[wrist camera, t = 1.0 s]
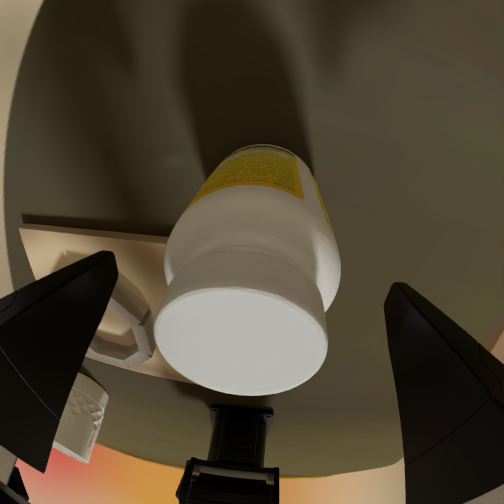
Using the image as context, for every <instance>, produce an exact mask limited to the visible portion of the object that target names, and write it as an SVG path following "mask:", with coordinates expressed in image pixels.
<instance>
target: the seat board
mask: <svg viewBox="0 0 504 504" xmlns="http://www.w3.org/2000/svg"><path fill="white" fill-rule="evenodd" d="M19 231H20V234H21V238H22V241H23V244H24V247H25V250H26V253H27V256H28V259H29V262H30V265H31V268H32V270H33V273H34V276H35V278H36V280H39V279H41V278H43V277H45V276H47V275H49V274H51V273H53V272H55V271H57V270H59V269H61V268H64V267H66V266H68V265H70V264H72V263H74V262H76V261H79V260H81V259H83V258H85V257H88V256H90V255H92V254H94V253H97V252H99V251H101V250H107V251H112V252H113V253H114V254H115V258H116V263H117V268H118V273H119V275H118V280H117V283H116V285H115V288H114V290H113V293H112V295H111V298H110V301H109V303H108V306H107V309H106V311H105V314H104V316H103V318H102V321H101V323H100V325H99V327H98V329H97V331H96V333H95V335H94V338H93V340H92V342H91V344H90V346H89V349H88V351H87V353H86V355H85V356H86V357H89V358H92V359H95V360H98V361H101V362H104V363H108V364H111V365H115V366H118V367H122V368H125V369H129V370H133V371H137V372H141V373H145V374H149V375H153V376H158V377H162V378H167V379H171V380H176V381H181V382H187V383H192V384H197V383H195V382H193V381H192V380H190V379H188V378H186V377H185V376H184V375H182V374H181V373H179V372H178V371H177V370H175V369H174V368H173V367H172V366H171V365H170V364H169V363H168V362H167V361H166V359H165V358H164V357H163V355H162V354H161V352H160V350H159V349H158V346H157V344H156V341H155V338H154V322H155V317H156V314H157V311H158V309H159V307H160V305H161V303H162V301H163V298H164V296H165V294H166V291H167V288H168V284H167V281H166V276H165V269H164V257H165V250H166V245H167V242H168V239H169V237H163V236H153V235H143V234H133V233H123V232H113V231H102V230H92V229H82V228H71V227H60V226H50V225H39V224H28V223H25V224H23V225H22V226H21V227H20V228H19Z"/></svg>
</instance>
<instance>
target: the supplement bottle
mask: <svg viewBox="0 0 504 504" xmlns="http://www.w3.org/2000/svg"><path fill="white" fill-rule="evenodd" d="M164 269H165V276H166V281H167V284H168V288H167V291H166V294H165V296H164V298H163V301H162V303H161V305H160V307H159V309H158V311H157V314H156V317H155V322H154V338H155V341H156V344H157V346H158V349H159V350H160V352H161V354H162V355H163V357H164V358H165V359H166V361H167V362H168V363H169V364H170V365H171V366H172V367H173V368H174V369H175V370H177V371H178V372H179V373H181V374H182V375H184V376H185V377H186V378H188V379H190V380H192V381H193V382H195V383H197V384H199V385H202V386H204V387H207V388H210V389H213V390H216V391H219V392H223V393H228V394H235V395H245V396H259V395H268V394H274V393H279V392H283V391H286V390H289V389H292V388H294V387H296V386H298V385H300V384H302V383H304V382H305V381H307V380H308V379H309V378H310V377H312V376H313V375H314V374H315V373H316V372H317V371H318V370H319V368H320V367H321V365H322V363H323V362H324V360H325V358H326V353H327V348H328V336H327V328H326V318H325V312H326V311H327V309H328V308H329V306H330V305H331V303H332V301H333V300H334V297H335V295H336V293H337V290H338V286H339V282H340V274H341V262H340V256H339V251H338V247H337V243H336V240H335V237H334V234H333V231H332V228H331V225H330V222H329V219H328V216H327V212H326V210H325V207H324V204H323V201H322V198H321V195H320V192H319V190H318V187H317V184H316V181H315V179H314V177H313V175H312V173H311V171H310V170H309V168H308V167H307V165H306V164H305V163H304V162H303V161H302V160H301V159H300V158H299V157H298V156H296V155H295V154H294V153H292V152H290V151H288V150H286V149H284V148H281V147H278V146H274V145H268V144H257V145H251V146H247V147H243V148H241V149H239V150H237V151H235V152H233V153H232V154H230V155H229V156H227V157H226V158H225V159H224V160H223V161H222V162H221V163H220V164H219V165H218V167H217V168H216V169H215V170H214V172H213V173H212V174H211V175H210V177H209V178H208V179H207V181H206V182H205V183H204V185H203V186H202V187H201V189H200V190H199V192H198V193H197V195H196V196H195V197H194V199H193V200H192V202H191V203H190V204H189V206H188V207H187V209H186V210H185V211H184V213H183V214H182V215H181V217H180V218H179V220H178V221H177V223H176V225H175V227H174V229H173V230H172V232H171V234H170V237H169V239H168V242H167V245H166V250H165V257H164Z"/></svg>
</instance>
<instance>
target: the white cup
mask: <svg viewBox="0 0 504 504" xmlns="http://www.w3.org/2000/svg"><path fill="white" fill-rule="evenodd" d="M108 398H109V396H108V394H107V393H106V391H105V390H104V389H103V388H102V387H101V386H100V385H99V384H97V383H96V382H95V381H93V380H92V379H91V378H89V377H87V376H85V375H83V374H81V373H79V372H78V374H77V377H76V379H75V382H74V384H73V387H72V389H71V392H70V395H69V397H68V400H67V403H66V405H65V408H64V411H63V414H62V417H61V420H59V421H60V423H59V426H58V429H57V432H56V435H55V438H54V442H53V445H52V447H54V448H56V449H57V450H59V451H61V452H62V453H64V454H66V455H68V456H70V457H72V458H74V459H76V460H78V461H81V462H83V463H87V464H88V463H89V460H90V457H91V454H92V450H93V447H94V444H95V441H96V438H97V435H98V432H99V429H100V426H101V422H102V419H103V416H104V415H103V413H104V410H105V408H106V405H107V402H108Z"/></svg>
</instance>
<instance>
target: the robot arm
mask: <svg viewBox="0 0 504 504" xmlns="http://www.w3.org/2000/svg"><path fill="white" fill-rule="evenodd" d="M118 275H119V273H118V268H117V263H116V258H115V254H114V253H113V252H112V251H107V250H101V251H99V252H97V253H94V254H92V255H90V256H88V257H85V258H83V259H81V260H79V261H76V262H74V263H72V264H70V265H68V266H66V267H64V268H61V269H59V270H57V271H55V272H53V273H51V274H49V275H47V276H45V277H43V278H41V279H39V280H36V281H34V282H32V283H30V284H28V285H26V286H24V287H23V288H21V289H19V290H17V291H15V292H13V293H11V294H9V295H7V296H5V297H3V298H1V299H0V504H31V503H29V502H28V500H29V497H28V494H27V492H26V489H25V486H24V484H23V481H22V478H21V475H20V472H19V469H18V468H17V467H16V466H15V464H16V461H17V459H18V458H19V459H21V460H22V461H24V462H25V463H27V464H29V465H30V466H32V467H33V468H35V469H36V470H38V471H40V472H42V473H44V472H45V470H46V466H47V463H48V459H49V455H50V452H51V448H52V445H53V442H54V438H55V435H56V432H57V429H58V426H59V423H60V421H59V420H61V417H62V414H63V411H64V408H65V405H66V403H67V400H68V397H69V395H70V392H71V389H72V387H73V384H74V382H75V379H76V377H77V374H78V372H79V370H80V367H81V365H82V362H83V360H84V358H85V355H86V353H87V351H88V349H89V346H90V344H91V342H92V340H93V338H94V335H95V333H96V331H97V329H98V327H99V325H100V323H101V321H102V318H103V316H104V314H105V311H106V309H107V306H108V303H109V301H110V298H111V295H112V293H113V290H114V288H115V285H116V283H117V280H118ZM384 314H385V322H386V330H387V340H388V348H389V354H390V359H391V364H392V369H393V375H394V380H395V386H396V393H397V399H398V406H399V413H400V421H401V430H402V439H403V450H404V463H405V489H406V504H504V364H503V363H502V362H500V361H499V360H498V359H497V358H495V357H494V356H493V355H492V354H491V353H490V352H489V351H488V350H486V349H485V348H484V347H483V346H482V345H481V344H480V343H478V342H477V341H476V340H475V339H474V338H473V337H472V336H470V335H469V334H468V333H467V332H466V331H465V330H463V329H462V328H461V327H460V326H459V325H458V324H456V323H455V322H454V321H453V320H452V319H450V318H449V317H448V316H447V315H446V314H444V313H443V312H442V311H441V310H439V309H438V308H437V307H436V306H434V305H433V304H432V303H431V302H429V301H428V300H427V299H426V298H424V297H423V296H422V295H421V294H419V293H418V292H417V291H415V290H414V289H413V288H412V287H410V286H409V285H408V284H406V283H404V282H394V283H393V284H392V286H391V288H390V290H389V293H388V295H387V297H386V300H385V303H384ZM210 414H211V422H212V429H213V432H212V437H211V442H210V448H209V453H208V458H207V461H206V460H200V459H197V458H193V457H191V460H187V462H186V466H185V471H184V474H183V477H182V479H181V482H180V484H179V486H178V489H177V491H176V497H177V498H178V500H179V504H279V468H277V467H274V468H263V466H264V454H265V442H266V436H267V435H268V432H269V429H270V426H271V423H272V420H273V417H274V413H273V412H271V411H261V410H251V409H242V408H234V407H226V406H219V405H211V407H210ZM266 481H267V482H266Z"/></svg>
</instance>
